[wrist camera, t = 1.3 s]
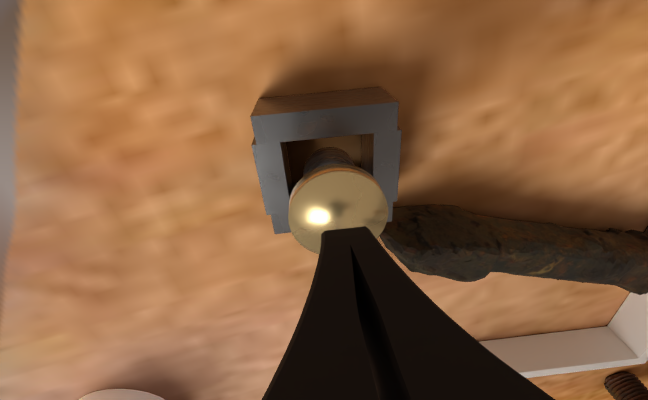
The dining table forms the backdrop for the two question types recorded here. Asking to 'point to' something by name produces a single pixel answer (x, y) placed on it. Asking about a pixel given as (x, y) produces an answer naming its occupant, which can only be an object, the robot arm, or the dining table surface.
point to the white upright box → (120, 395)
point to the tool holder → (322, 122)
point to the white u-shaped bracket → (581, 345)
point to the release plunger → (334, 198)
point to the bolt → (626, 387)
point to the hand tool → (513, 248)
